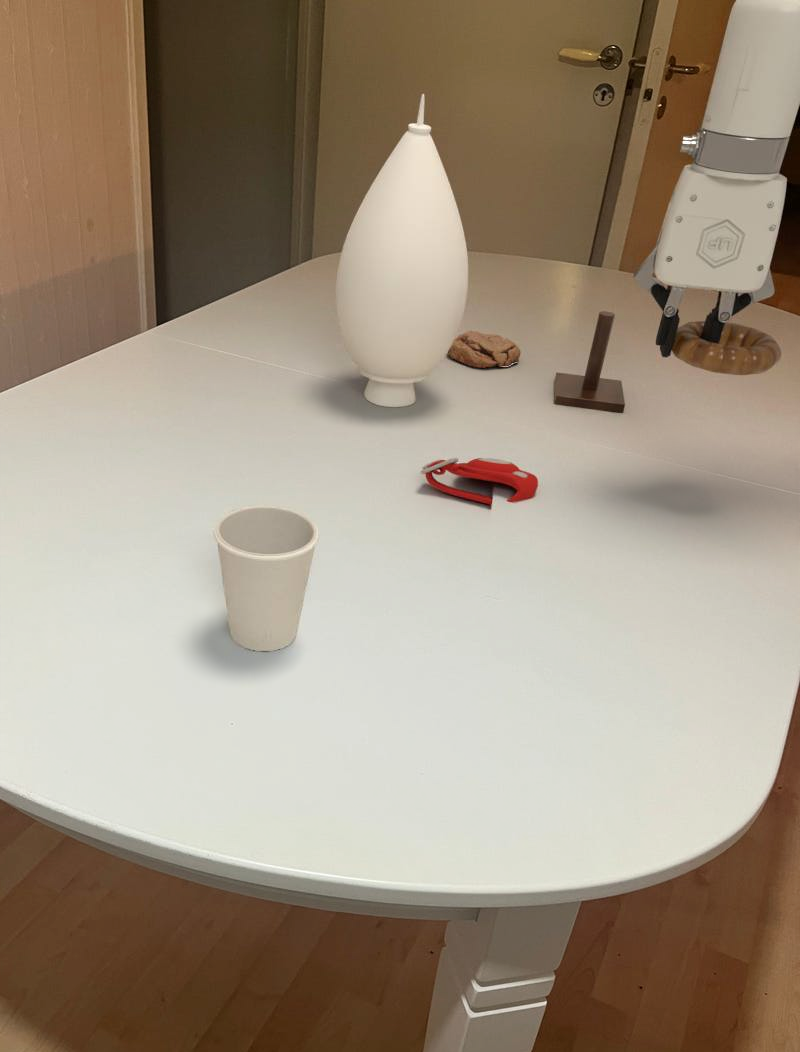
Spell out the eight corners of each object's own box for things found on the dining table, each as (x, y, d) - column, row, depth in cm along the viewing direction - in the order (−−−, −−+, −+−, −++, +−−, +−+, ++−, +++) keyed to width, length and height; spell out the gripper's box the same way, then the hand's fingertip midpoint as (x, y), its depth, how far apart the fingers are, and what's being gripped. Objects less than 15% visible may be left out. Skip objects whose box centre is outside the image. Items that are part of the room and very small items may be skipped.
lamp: (421, 372, 134) (458, 85, 113) (469, 417, 122) (520, 105, 101) (314, 378, 130) (331, 81, 109) (352, 426, 118) (380, 102, 97)
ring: (764, 348, 100) (772, 324, 98) (784, 384, 92) (793, 357, 90) (662, 337, 101) (669, 312, 100) (672, 371, 93) (680, 345, 92)
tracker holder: (493, 454, 111) (559, 468, 103) (487, 492, 112) (551, 509, 104) (414, 450, 103) (479, 465, 96) (408, 491, 105) (472, 508, 97)
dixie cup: (223, 599, 85) (223, 499, 79) (317, 609, 85) (324, 509, 79) (205, 655, 78) (203, 550, 72) (306, 666, 78) (313, 561, 72)
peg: (619, 388, 134) (640, 307, 127) (623, 413, 126) (645, 328, 120) (554, 380, 135) (571, 299, 128) (554, 403, 128) (572, 319, 121)
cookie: (529, 369, 138) (533, 348, 136) (460, 371, 135) (464, 350, 134) (502, 345, 146) (506, 325, 144) (437, 347, 143) (439, 326, 141)
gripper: (649, 154, 84) (602, 358, 95) (844, 170, 82) (774, 377, 93) (642, 140, 90) (599, 334, 101) (824, 155, 88) (760, 352, 99)
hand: (683, 353), depth 97 cm, fingers closed on ring, 3 cm apart
